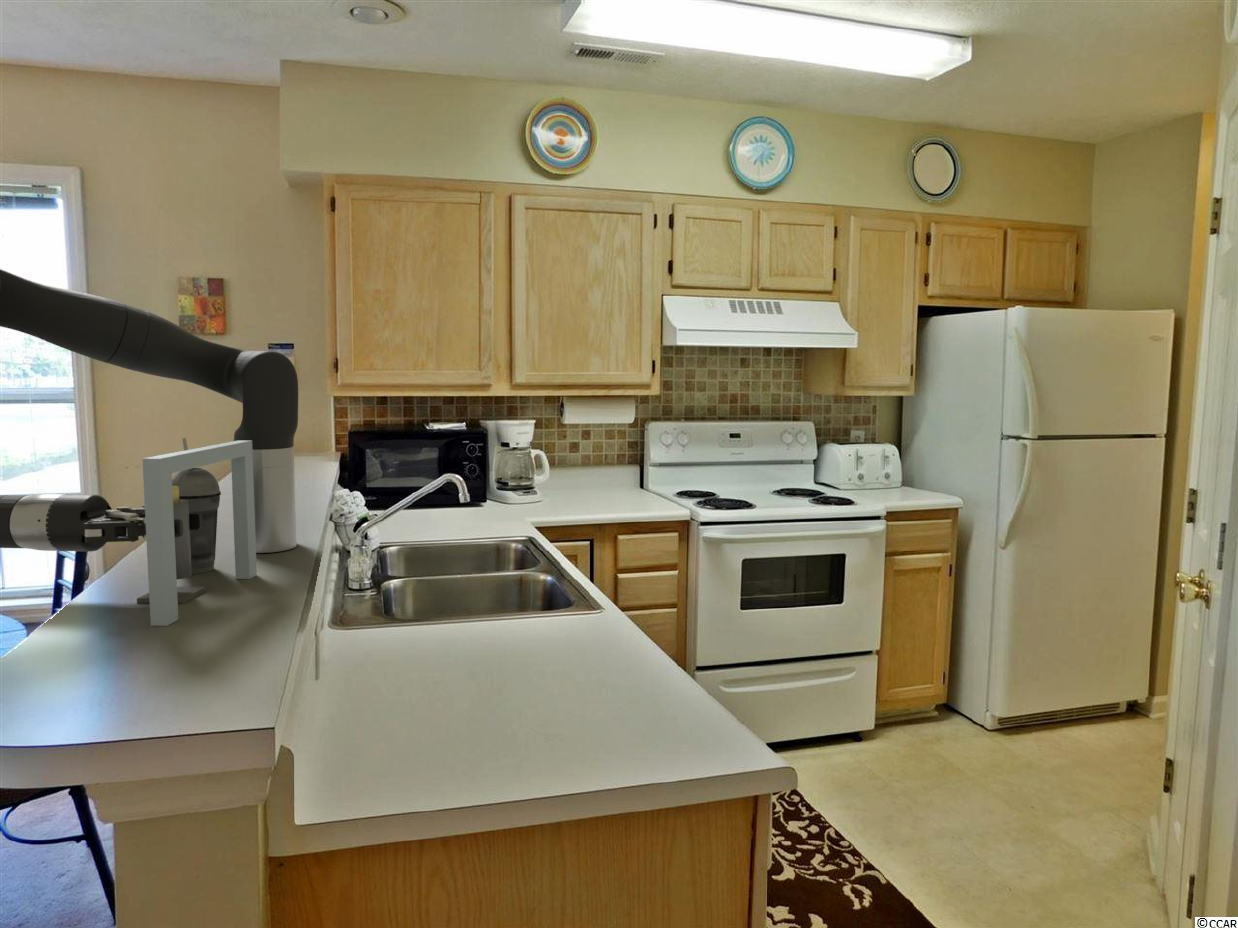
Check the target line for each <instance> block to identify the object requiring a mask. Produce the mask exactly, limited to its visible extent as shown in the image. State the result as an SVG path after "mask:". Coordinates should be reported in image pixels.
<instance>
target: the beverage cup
mask: <svg viewBox="0 0 1238 928" xmlns="http://www.w3.org/2000/svg"><path fill="white" fill-rule="evenodd" d="M181 441H182V446H183V451H185V450H189V449H188V448H189V447H188V441H187V438H186V437H184V438H182V440H181ZM172 486H179V499H181V500H188V504H189V513H200V514H201V515H202V528H200V529H198V530H190V549H191V572H192V574H193V575H194V574H195V575H197V574H204V573H208V572H212V571H214V570H215V560H216V551H217V550H216V549H217V548H216V547H217V532H218V531H217V528H218V514H219V513H218V511H219V507H220V500H221V495H222V493H221V491H220V485H219V482H218V480H217V478H216V477H215V476H214V474H212V473H211V472H210V471H208V470H206V469H204V468H202V467H196V468H192V469H187V470H183V471H179V472H176V474H175V475H174V476H173V477H172Z"/></svg>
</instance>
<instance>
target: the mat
mask: <svg viewBox="0 0 1238 928" xmlns="http://www.w3.org/2000/svg"><path fill="white" fill-rule="evenodd" d="M203 593H206V586H177V601H178V604H185V603H187V602H189V601H190V600H192V599H194V598H196V597H198V596H200V595H201V594H203ZM137 603H138V604H150V601H149V592H147V593H144V594H142V595H140V596H139V597H137V598H136V604H137Z"/></svg>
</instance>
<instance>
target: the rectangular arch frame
mask: <svg viewBox="0 0 1238 928" xmlns="http://www.w3.org/2000/svg"><path fill="white" fill-rule="evenodd" d="M229 460H230V463H231V489H232V490H231V491H232V494H231V495H232V513H233V514H232V515H233V516H232V517H233V540H234V541H233V542H234V543H233V544H234V570H235V573H234V574H235V580H251V579H252V578H254V577H256V576H257V571H258V569H257V553H256V539H255V510H254V482H253V453H252V441H247V440H238V441H234V440H233V441H232V440H231V441H227V442H222V443H218V444H212V445H207V446H202V447H196V448H191V449H188V450H185V451H184V450H180V451H175V452H170V453H165V454H164V453H163V454H159V455H155V456H147V457H143V458H142V475H143V476H142V479H143V494H144V496H143V497H144V498H143V501H144V506H145V521H146V539H145V540H146V557H147V558H146V559H147V571H148V572H147V575H148V576H147V577H148V593H149V601H150V603H149V615H150V620H149V621H150V627H151V626H153V627H154V626H158V627H160V626H163V627H167V626H170V625H171V624H173V623H175V622H177V621H178V620H179V605H178V604H179V603H178V601H177V587H178V583H177V581H178V579H176V557H175V536H174V514H173V492H172V479H173V476H172V475H173V474H174V473H179V472H180V471H183V470H187V469H192V468H201V467H204V466H208V465H213V464H217V463H221V462H225V461H229Z"/></svg>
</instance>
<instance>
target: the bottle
mask: <svg viewBox="0 0 1238 928" xmlns="http://www.w3.org/2000/svg"><path fill="white" fill-rule="evenodd" d="M172 492H173V514H174V519H179V520H181V521H182V522H183V535H182V536H179V537H175V557H176V579H177V580H182V579H186V578H190V577H191V576H192V572H191V549H190V527H189V504H188V500H181V499H179V486H172Z"/></svg>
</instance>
